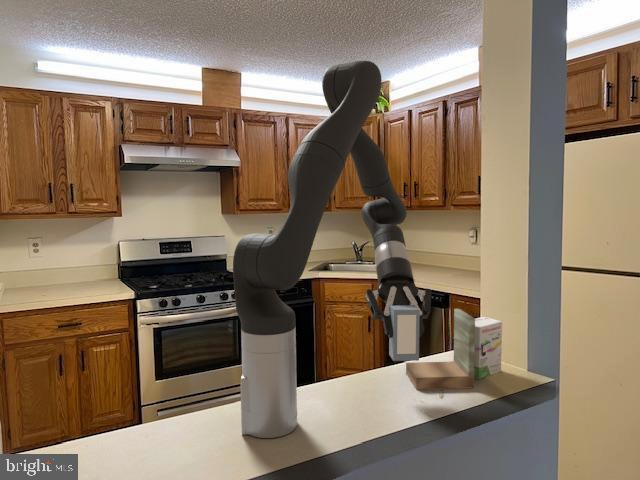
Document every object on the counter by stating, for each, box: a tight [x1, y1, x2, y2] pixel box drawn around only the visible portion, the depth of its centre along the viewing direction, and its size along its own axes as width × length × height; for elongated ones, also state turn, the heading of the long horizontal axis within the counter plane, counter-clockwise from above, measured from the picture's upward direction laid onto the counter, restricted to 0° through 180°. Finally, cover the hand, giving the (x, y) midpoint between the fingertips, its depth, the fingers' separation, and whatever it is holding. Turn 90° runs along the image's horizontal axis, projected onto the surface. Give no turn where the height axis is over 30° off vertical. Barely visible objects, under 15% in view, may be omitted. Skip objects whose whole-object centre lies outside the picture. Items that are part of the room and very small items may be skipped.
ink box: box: [474, 316, 503, 380], centre depth 104 cm, size 8×5×12 cm, turn 126°
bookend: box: [405, 308, 476, 391], centre depth 99 cm, size 12×9×14 cm
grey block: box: [388, 305, 421, 362], centre depth 91 cm, size 5×4×10 cm
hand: (405, 335), depth 90 cm, fingers closed on grey block, 5 cm apart
